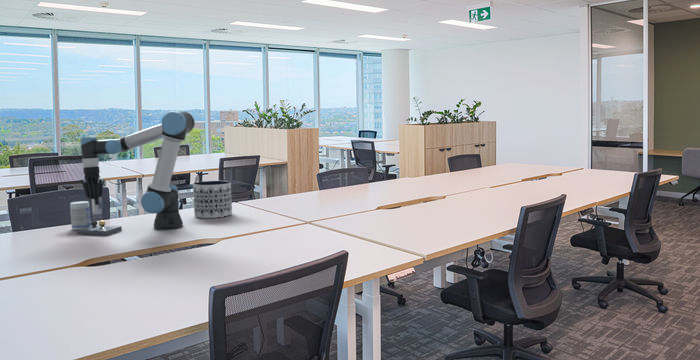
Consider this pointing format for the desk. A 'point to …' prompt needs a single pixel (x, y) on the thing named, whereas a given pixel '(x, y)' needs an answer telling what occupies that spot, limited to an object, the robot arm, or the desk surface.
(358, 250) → the desk surface
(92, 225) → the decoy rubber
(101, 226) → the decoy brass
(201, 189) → the planter
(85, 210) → the supplement tub
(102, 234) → the plate
